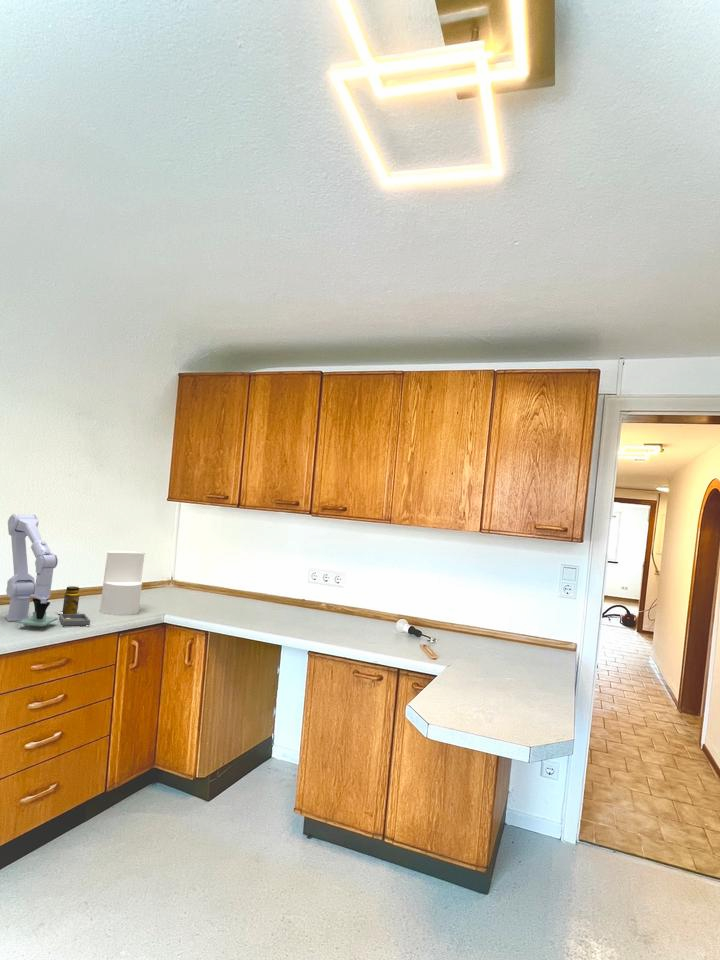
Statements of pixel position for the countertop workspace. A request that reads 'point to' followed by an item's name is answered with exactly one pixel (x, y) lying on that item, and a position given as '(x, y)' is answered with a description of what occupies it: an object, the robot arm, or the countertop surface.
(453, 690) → the countertop surface
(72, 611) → the condiment
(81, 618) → the grey tray
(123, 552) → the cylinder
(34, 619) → the lid
